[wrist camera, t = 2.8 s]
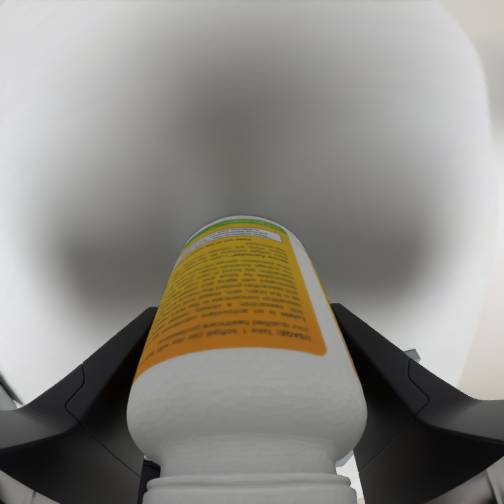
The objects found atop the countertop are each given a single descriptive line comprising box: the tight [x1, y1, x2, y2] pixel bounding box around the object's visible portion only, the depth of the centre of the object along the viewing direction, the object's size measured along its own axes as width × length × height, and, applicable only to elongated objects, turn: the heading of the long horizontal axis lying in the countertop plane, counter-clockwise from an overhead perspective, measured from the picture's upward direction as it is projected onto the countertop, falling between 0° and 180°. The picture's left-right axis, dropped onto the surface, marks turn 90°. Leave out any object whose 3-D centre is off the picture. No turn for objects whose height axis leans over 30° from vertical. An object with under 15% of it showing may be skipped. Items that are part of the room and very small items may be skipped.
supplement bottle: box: [127, 215, 367, 504], centre depth 7 cm, size 5×5×10 cm
